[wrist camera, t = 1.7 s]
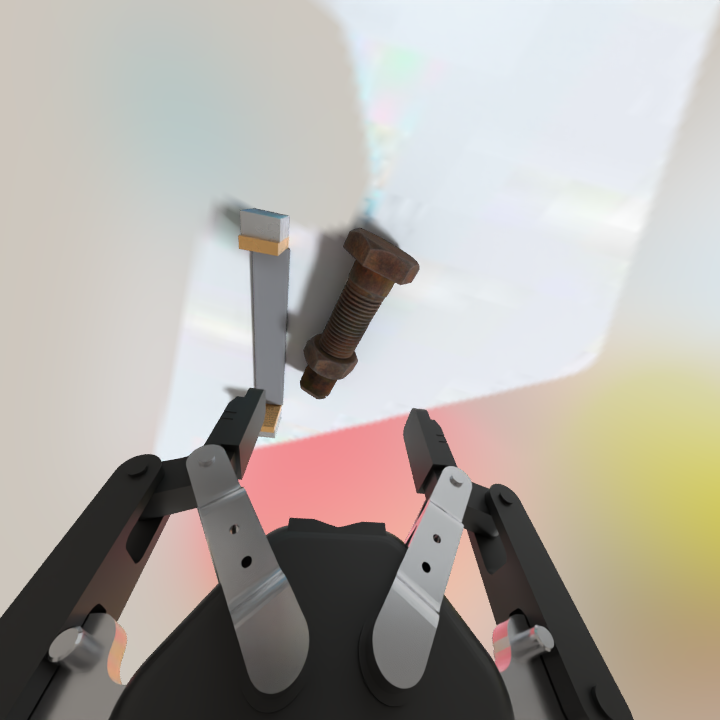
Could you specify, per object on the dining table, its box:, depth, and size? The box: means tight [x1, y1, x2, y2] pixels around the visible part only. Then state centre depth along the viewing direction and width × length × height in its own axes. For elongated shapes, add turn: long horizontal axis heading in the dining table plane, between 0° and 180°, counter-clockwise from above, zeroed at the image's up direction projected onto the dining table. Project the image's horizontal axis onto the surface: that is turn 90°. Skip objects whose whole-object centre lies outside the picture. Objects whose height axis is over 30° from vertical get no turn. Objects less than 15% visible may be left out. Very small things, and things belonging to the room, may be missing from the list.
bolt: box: [300, 228, 419, 399], centre depth 22 cm, size 6×5×15 cm
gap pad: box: [252, 249, 290, 405], centre depth 24 cm, size 17×3×1 cm, turn 169°
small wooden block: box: [259, 404, 281, 438], centre depth 28 cm, size 2×2×4 cm
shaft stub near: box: [238, 208, 289, 256], centre depth 18 cm, size 2×2×4 cm
